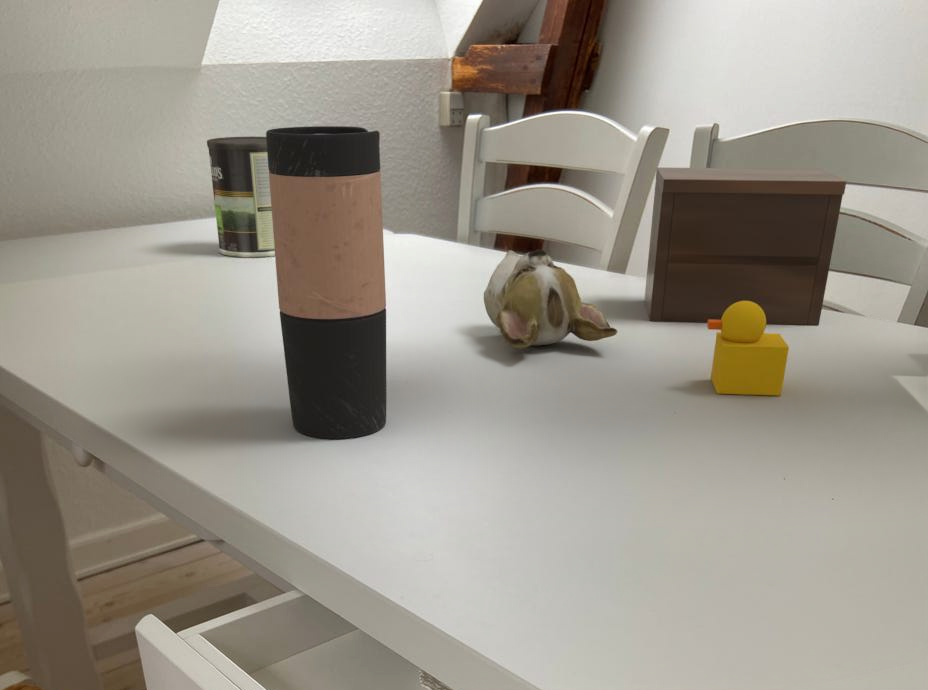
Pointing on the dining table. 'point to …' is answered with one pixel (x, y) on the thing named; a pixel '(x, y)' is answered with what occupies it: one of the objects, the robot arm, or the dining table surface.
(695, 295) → the wooden nightstand cabinet
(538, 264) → the ceramic sculpture
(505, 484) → the dining table surface
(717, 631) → the dining table surface
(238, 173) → the coffee can
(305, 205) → the travel mug
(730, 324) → the duck
